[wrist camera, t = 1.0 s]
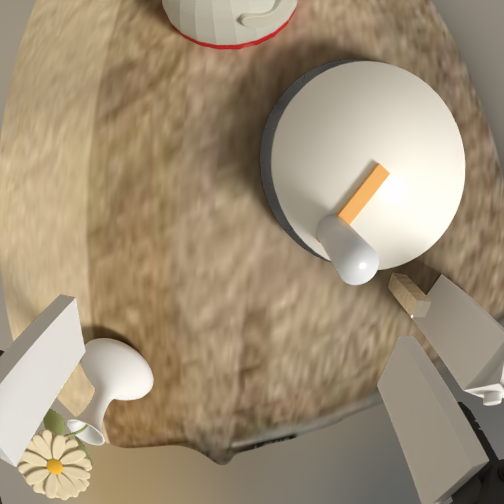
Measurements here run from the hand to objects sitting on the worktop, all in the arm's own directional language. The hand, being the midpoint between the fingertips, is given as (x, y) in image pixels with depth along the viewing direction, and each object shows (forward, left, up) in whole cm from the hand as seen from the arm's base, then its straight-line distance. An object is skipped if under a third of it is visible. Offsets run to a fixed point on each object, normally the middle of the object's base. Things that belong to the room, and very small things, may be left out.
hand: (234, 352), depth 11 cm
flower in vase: (+23, -16, -23) cm, 36 cm away
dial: (-7, +12, -21) cm, 25 cm away
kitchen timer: (-24, -4, -23) cm, 33 cm away
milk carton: (+9, +28, -23) cm, 37 cm away
